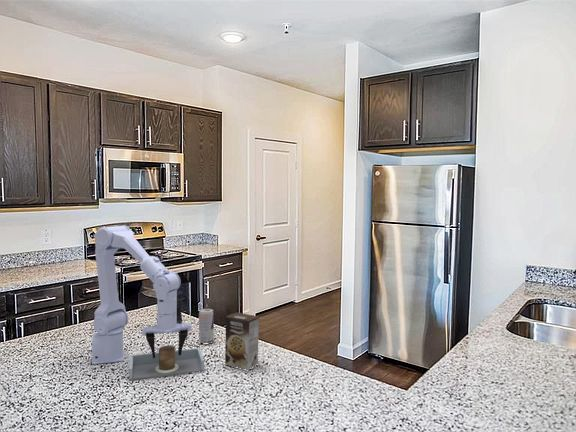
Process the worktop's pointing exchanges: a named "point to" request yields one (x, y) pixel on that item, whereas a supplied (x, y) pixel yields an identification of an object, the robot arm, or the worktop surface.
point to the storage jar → (179, 307)
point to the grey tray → (149, 368)
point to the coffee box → (241, 340)
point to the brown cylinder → (166, 358)
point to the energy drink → (206, 326)
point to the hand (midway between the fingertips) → (166, 355)
